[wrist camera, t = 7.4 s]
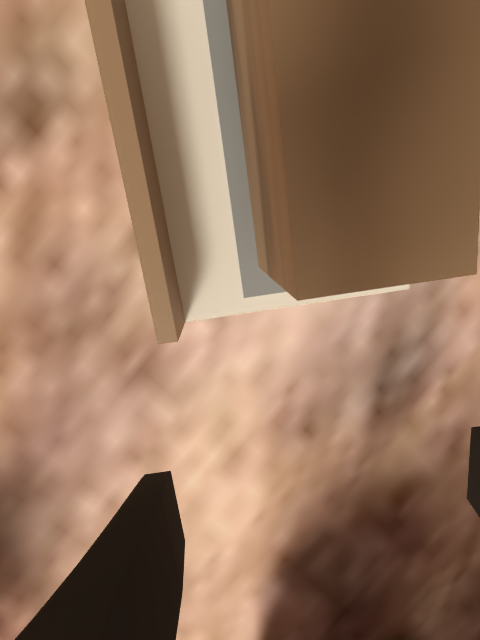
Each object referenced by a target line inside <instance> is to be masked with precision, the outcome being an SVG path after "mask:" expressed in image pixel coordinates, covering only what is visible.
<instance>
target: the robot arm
mask: <svg viewBox="0 0 480 640" xmlns="http://www.w3.org/2000/svg"><path fill="white" fill-rule="evenodd" d="M467 499H468V501H469V502H470V504H471V505H472V507H473V508H474V510H475V511H476V513H477V514H478V516H479V517H480V426H479V427H472V428H471V442H470V458H469V474H468V489H467ZM184 552H185V538H184V533H183V529H182V524H181V519H180V514H179V509H178V504H177V499H176V495H175V490H174V485H173V480H172V475H171V471H166V472H159V473H152V474H145V475H144V476H143V477H142V479H141V480H140V481H139V483H138V484H137V485H136V487H135V488H134V489H133V491H132V492H131V493H130V495H129V496H128V498H127V499H126V500H125V502H124V503H123V504H122V506H121V507H120V509H119V510H118V511H117V513H116V514H115V515H114V517H113V518H112V520H111V521H110V522H109V524H108V525H107V526H106V528H105V529H104V530H103V532H102V533H101V534H100V536H99V537H98V538H97V540H96V541H95V542H94V543H93V545H92V546H91V547H90V549H89V550H88V551H87V553H86V554H85V555H84V557H83V558H82V559H81V561H80V562H79V563H78V564H77V566H76V567H75V568H74V569H73V571H72V572H71V573H70V574H69V576H68V577H67V578H66V579H65V580H64V582H63V583H62V584H61V585H60V587H59V588H58V589H57V590H56V591H55V593H54V594H53V595H52V596H51V597H50V599H49V600H48V601H47V602H46V604H45V605H44V606H43V607H42V608H41V610H40V611H39V612H38V613H37V614H36V616H35V617H34V618H33V619H32V620H31V622H30V623H29V624H28V625H27V626H26V627H25V628H24V630H23V631H22V632H21V633H20V634H19V635H18V636H17V638H16V639H15V640H176V634H177V627H178V620H179V613H180V606H181V599H182V590H183V573H184Z"/></svg>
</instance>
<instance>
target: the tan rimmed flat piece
mask: <svg viewBox="0 0 480 640" xmlns="http://www.w3.org/2000/svg"><path fill="white" fill-rule="evenodd" d="M85 4H86V9H87V14H88V18H89V23H90V28H91V32H92V37H93V42H94V46H95V51H96V56H97V60H98V65H99V70H100V75H101V79H102V84H103V89H104V93H105V98H106V103H107V107H108V112H109V117H110V122H111V126H112V131H113V136H114V140H115V145H116V150H117V154H118V159H119V164H120V168H121V173H122V178H123V183H124V187H125V192H126V197H127V201H128V206H129V211H130V215H131V220H132V225H133V229H134V234H135V239H136V244H137V248H138V253H139V258H140V262H141V267H142V272H143V276H144V281H145V286H146V290H147V295H148V300H149V305H150V309H151V314H152V319H153V323H154V328H155V333H156V337H157V342H158V344H164V343H171V342H178V340H179V337H180V334H181V332H182V329H183V327H184V324H185V322H190V321H197V320H204V319H210V318H217V317H224V316H231V315H237V314H244V313H251V312H257V311H264V310H271V309H278V308H284V307H291V306H298V305H304V304H311V303H318V302H324V301H331V300H338V299H345V298H351V297H358V296H365V295H371V294H378V293H385V292H392V291H398V290H405V289H409V284H407V285H400V286H393V287H387V288H380V289H373V290H367V291H360V292H353V293H346V294H340V295H333V296H326V297H320V298H313V299H306V300H299V301H297V300H296V299H295V298H293V297H292V296H291V295H290V294H289V293H288V292H287V291H285V290H284V289H283V288H282V287H281V286H280V285H278V284H277V283H276V282H275V281H274V280H273V279H272V278H270V277H269V276H268V275H267V274H266V273H265V272H263V271H262V270H261V269H260V268H259V264H258V256H257V248H256V240H255V232H254V224H253V215H252V207H251V199H250V191H249V183H248V175H247V167H246V159H245V150H244V142H243V134H242V126H241V118H240V110H239V102H238V94H237V85H236V77H235V69H234V61H233V53H232V45H231V37H230V29H229V20H228V12H227V4H226V0H85Z"/></svg>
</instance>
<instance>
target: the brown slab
mask: <svg viewBox="0 0 480 640" xmlns="http://www.w3.org/2000/svg"><path fill="white" fill-rule="evenodd" d="M226 4H227V12H228V20H229V29H230V37H231V45H232V53H233V61H234V69H235V77H236V85H237V94H238V102H239V110H240V118H241V126H242V134H243V142H244V150H245V159H246V167H247V175H248V183H249V191H250V199H251V207H252V215H253V224H254V232H255V240H256V248H257V256H258V264H259V268H260V269H261V270H262V271H263V272H265V273H266V274H267V275H268V276H269V277H270V278H272V279H273V280H274V281H275V282H276V283H277V284H278V285H280V286H281V287H282V288H283V289H284V290H285V291H287V292H288V293H289V294H290V295H291V296H292V297H293V298H295V299H296V300H297V301H299V300H306V299H313V298H320V297H326V296H333V295H340V294H346V293H353V292H360V291H367V290H373V289H380V288H387V287H393V286H400V285H407V284H414V283H420V282H427V281H434V280H441V279H447V278H454V277H461V276H467V275H474V274H477V254H478V231H479V209H480V0H226Z"/></svg>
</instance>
